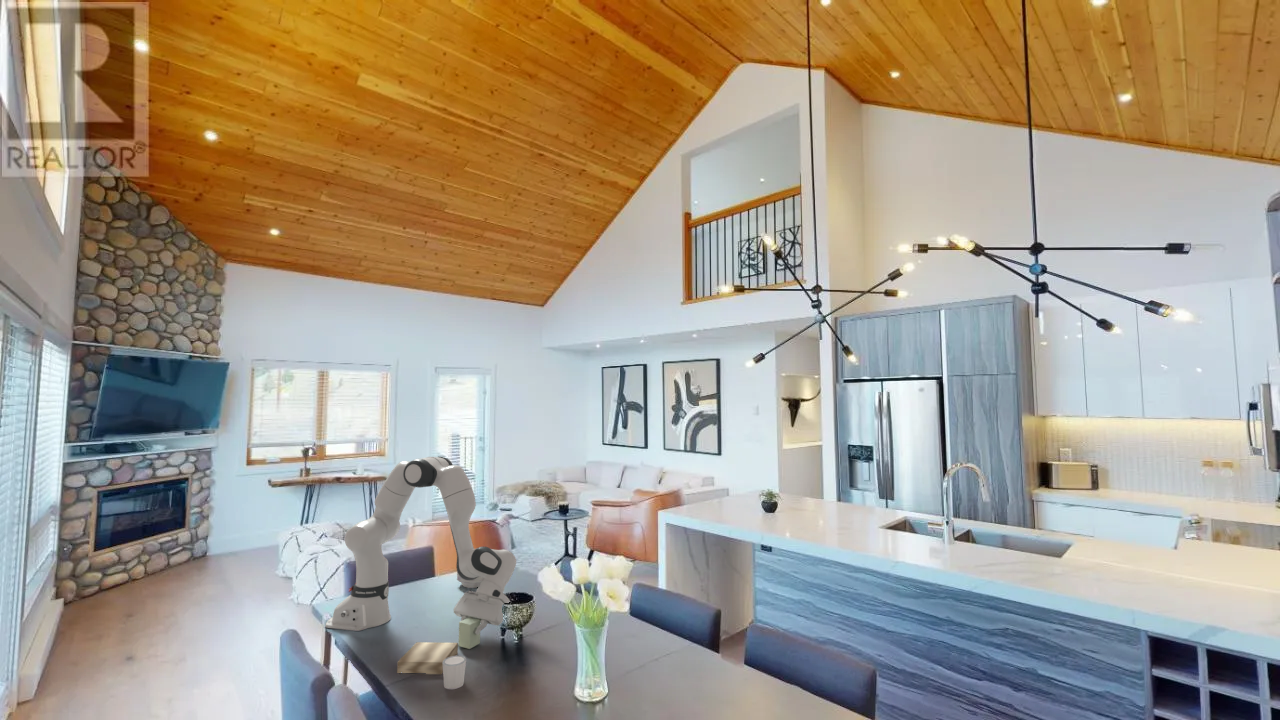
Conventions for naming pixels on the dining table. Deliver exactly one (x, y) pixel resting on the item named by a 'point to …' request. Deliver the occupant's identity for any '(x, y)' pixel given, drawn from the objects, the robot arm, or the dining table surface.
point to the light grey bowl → (470, 582)
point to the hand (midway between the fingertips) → (468, 632)
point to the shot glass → (454, 671)
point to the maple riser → (426, 657)
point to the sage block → (468, 633)
